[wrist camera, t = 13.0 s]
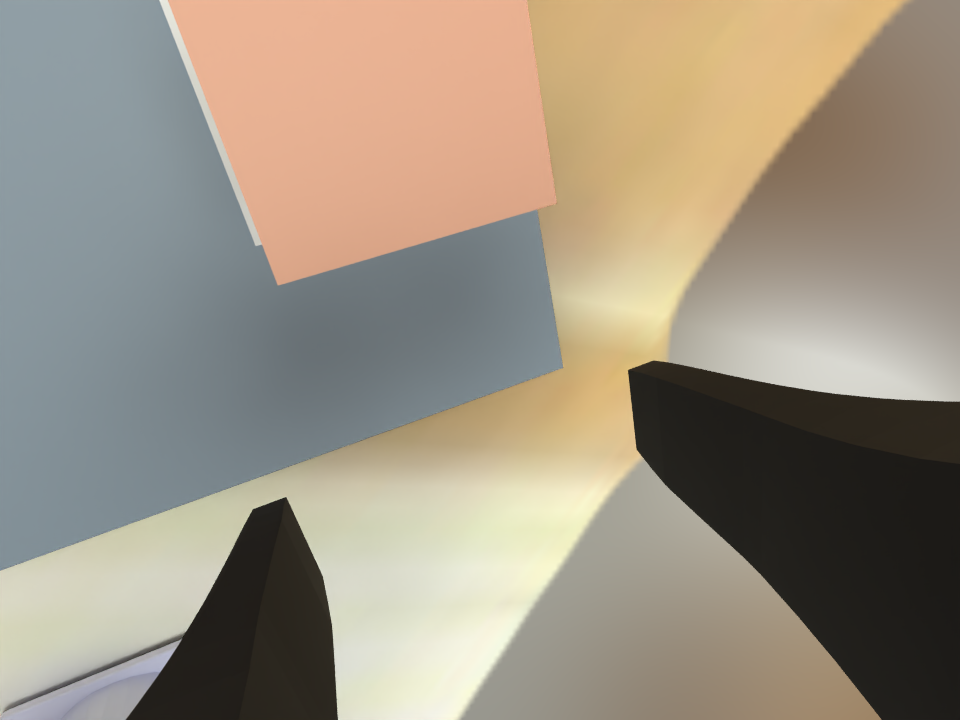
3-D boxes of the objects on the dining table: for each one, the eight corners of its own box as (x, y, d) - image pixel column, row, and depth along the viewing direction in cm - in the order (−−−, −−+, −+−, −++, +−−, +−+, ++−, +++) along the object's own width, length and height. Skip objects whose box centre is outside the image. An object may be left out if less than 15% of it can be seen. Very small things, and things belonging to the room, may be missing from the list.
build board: (554, 360, 23) (565, 369, 23) (-42, 572, 19) (-57, 594, 18) (478, -84, 17) (489, -95, 16) (-460, 80, 12) (-515, 77, 12)
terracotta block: (465, 178, 14) (557, 203, 9) (275, 229, 13) (278, 286, 8) (416, -48, 12) (504, -151, 7) (188, -6, 11) (131, -95, 6)
